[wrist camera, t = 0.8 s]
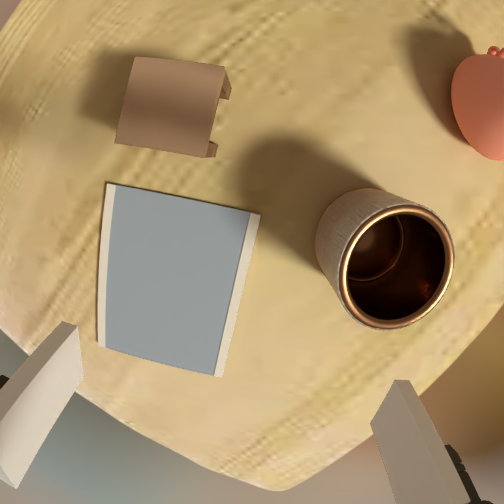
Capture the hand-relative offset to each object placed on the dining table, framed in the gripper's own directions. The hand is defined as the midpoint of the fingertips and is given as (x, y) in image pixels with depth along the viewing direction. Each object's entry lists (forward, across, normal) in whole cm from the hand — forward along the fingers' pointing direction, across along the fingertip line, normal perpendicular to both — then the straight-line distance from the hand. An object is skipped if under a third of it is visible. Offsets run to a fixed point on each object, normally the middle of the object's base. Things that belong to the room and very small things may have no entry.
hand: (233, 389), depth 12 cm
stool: (+22, -8, +11) cm, 26 cm away
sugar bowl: (+22, +23, +22) cm, 39 cm away
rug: (+21, -8, -7) cm, 24 cm away
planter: (+22, +12, +2) cm, 25 cm away
